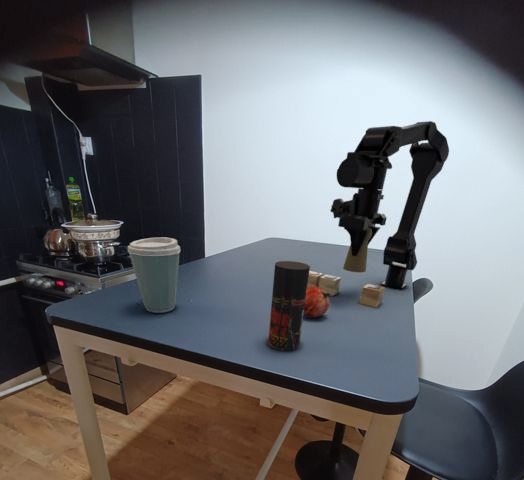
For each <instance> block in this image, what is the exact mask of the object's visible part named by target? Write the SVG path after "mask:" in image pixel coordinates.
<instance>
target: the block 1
mask: <svg viewBox="0 0 524 480" xmlns="http://www.w3.org/2000/svg"><path fill="white" fill-rule="evenodd" d="M322 276H324V273H323V272H317V271H312V270H309V277H308V284H307V287H309V286H315V287H319V281H320V277H322Z"/></svg>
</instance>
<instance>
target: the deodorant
mask: <svg viewBox="0 0 524 480" xmlns="http://www.w3.org/2000/svg"><path fill="white" fill-rule="evenodd" d="M310 269H311V266H310V265H309V264H307V263H304V262H301V261H294V260H293V261H292V260H280V261H277V262H275V263H274V269H273V270H274V271H273V283H272V284H273V285H272V296H271V304H270V305H271V306H270V307H271V308H270V317H269V318H270V319H269V329H268V340H267V341H268V342H267V343H268V346H269V347H270V348H272V349H274V350H277V351H280V352H281V351H282V352H292V351H295V350H297V349H298V348H299V347H300V341H301V335H302V334H301V333H302V327H303V320H304V306H305V299H306V292H307V284H308V277H309V271H311V270H310Z"/></svg>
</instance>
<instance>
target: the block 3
mask: <svg viewBox="0 0 524 480" xmlns="http://www.w3.org/2000/svg"><path fill="white" fill-rule="evenodd" d="M385 289H386V286H380V285H376V284H370V283H367V284H366V285H364V286H363V287H362V290H361V294H360V299H359V304H360V305H363V306H368V307H372V308H377V307H379V306H380V305H381V304H382V301H383V297H384V293H385Z"/></svg>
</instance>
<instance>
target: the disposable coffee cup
mask: <svg viewBox="0 0 524 480" xmlns="http://www.w3.org/2000/svg"><path fill="white" fill-rule="evenodd" d="M181 251H182V250H181V246H180V245H179V244H178V240H177V239H176V238H173V237H163V236H162V237H148V238H142V239H137V240H134V241H132V242H130V243H129V245H127V252H128V254H129V257H130V261H131V264H132V268H133V272H134V275H135V279H136V282H137V285H138V288H139V292H140V296H141V299H142V303H143V306H144V307H145V310H146V311H148V312H150V313H157V314H163V313H168V312H171V311H173V310H174V309H175V307H176V304H177V293H178V292H177V291H178V278H179V265H180V253H181Z"/></svg>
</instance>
